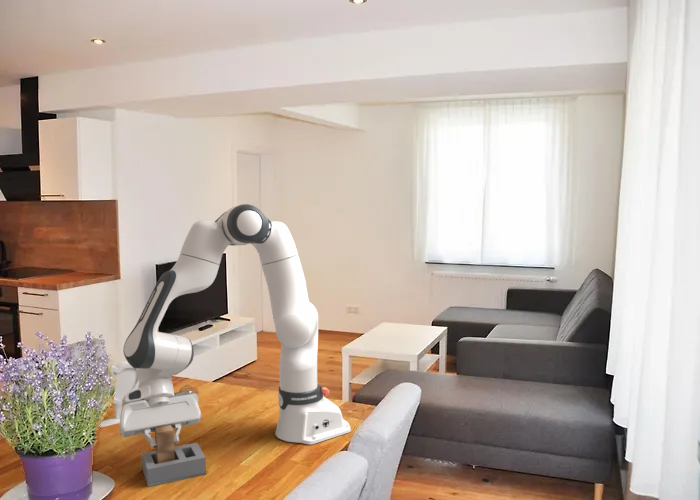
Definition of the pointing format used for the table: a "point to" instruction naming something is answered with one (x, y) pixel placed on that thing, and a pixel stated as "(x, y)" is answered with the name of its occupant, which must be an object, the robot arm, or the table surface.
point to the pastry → (189, 389)
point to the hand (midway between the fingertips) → (165, 444)
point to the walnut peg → (164, 444)
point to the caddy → (174, 465)
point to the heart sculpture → (122, 388)
